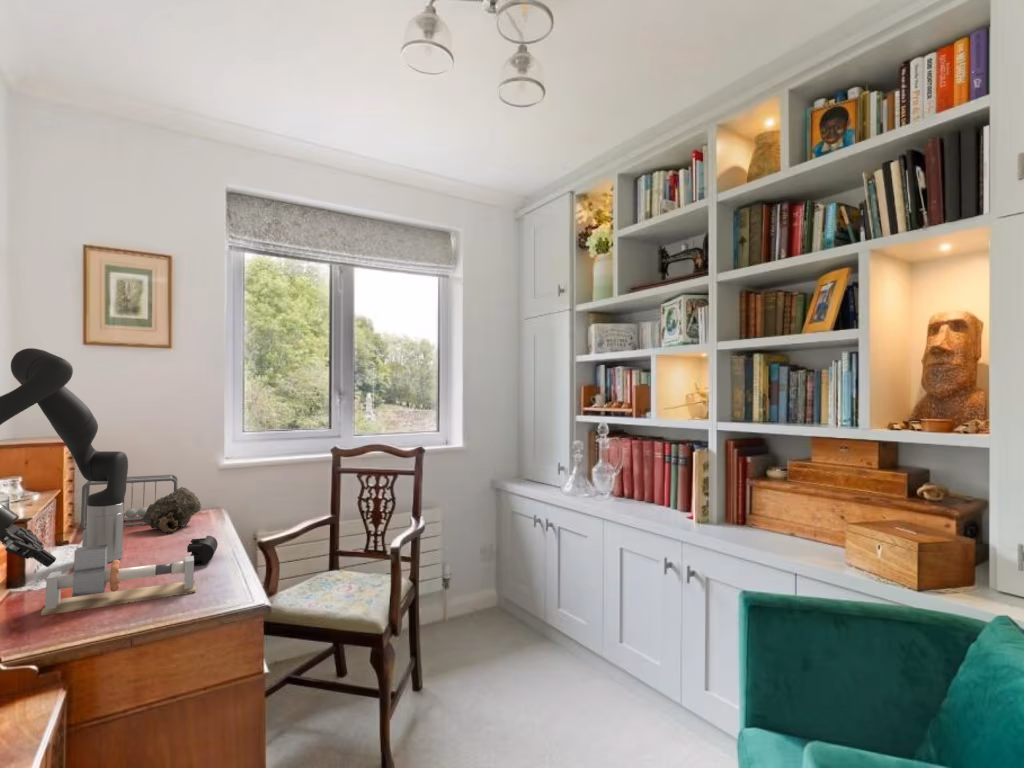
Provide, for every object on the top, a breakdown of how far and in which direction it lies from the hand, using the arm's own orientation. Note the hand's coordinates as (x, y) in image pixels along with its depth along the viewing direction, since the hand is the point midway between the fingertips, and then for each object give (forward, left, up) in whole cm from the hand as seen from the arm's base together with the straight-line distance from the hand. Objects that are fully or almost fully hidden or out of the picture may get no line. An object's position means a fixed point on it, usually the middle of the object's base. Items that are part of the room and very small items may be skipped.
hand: (52, 563), depth 131 cm
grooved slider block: (+6, +4, -8) cm, 11 cm away
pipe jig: (+12, +7, -11) cm, 18 cm away
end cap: (+15, +38, -11) cm, 42 cm away
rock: (-17, +75, -11) cm, 77 cm away
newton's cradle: (-37, +83, -11) cm, 91 cm away
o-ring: (+11, +6, -8) cm, 15 cm away
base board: (+12, +7, -11) cm, 18 cm away
